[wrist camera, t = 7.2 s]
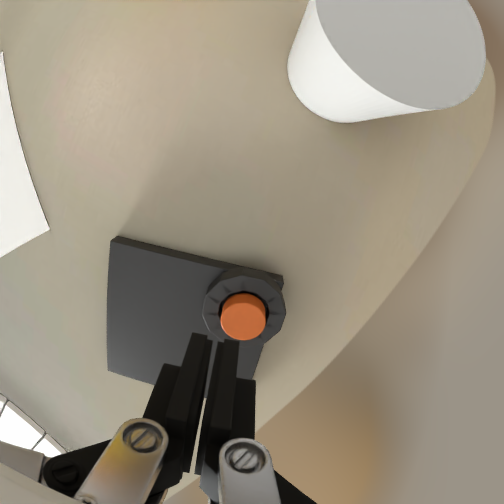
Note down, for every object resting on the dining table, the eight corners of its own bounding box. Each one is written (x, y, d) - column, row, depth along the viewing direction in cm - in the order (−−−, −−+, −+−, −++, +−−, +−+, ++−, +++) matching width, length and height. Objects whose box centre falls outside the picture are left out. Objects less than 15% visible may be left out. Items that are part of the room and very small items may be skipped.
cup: (399, 48, 19) (488, 1, 8) (377, 138, 22) (472, 141, 10) (301, 12, 18) (334, -77, 7) (275, 103, 21) (292, 62, 10)
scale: (291, 270, 25) (295, 287, 22) (248, 397, 30) (247, 418, 27) (117, 229, 24) (102, 240, 22) (112, 362, 29) (101, 380, 26)
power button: (270, 297, 23) (270, 308, 22) (259, 333, 24) (259, 344, 23) (227, 288, 23) (225, 298, 22) (219, 324, 24) (216, 335, 23)
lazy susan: (-58, 403, 39) (-64, 411, 36) (-58, 325, 30) (-70, 335, 27) (61, 503, 48) (57, 512, 45) (124, 482, 39) (119, 497, 35)
